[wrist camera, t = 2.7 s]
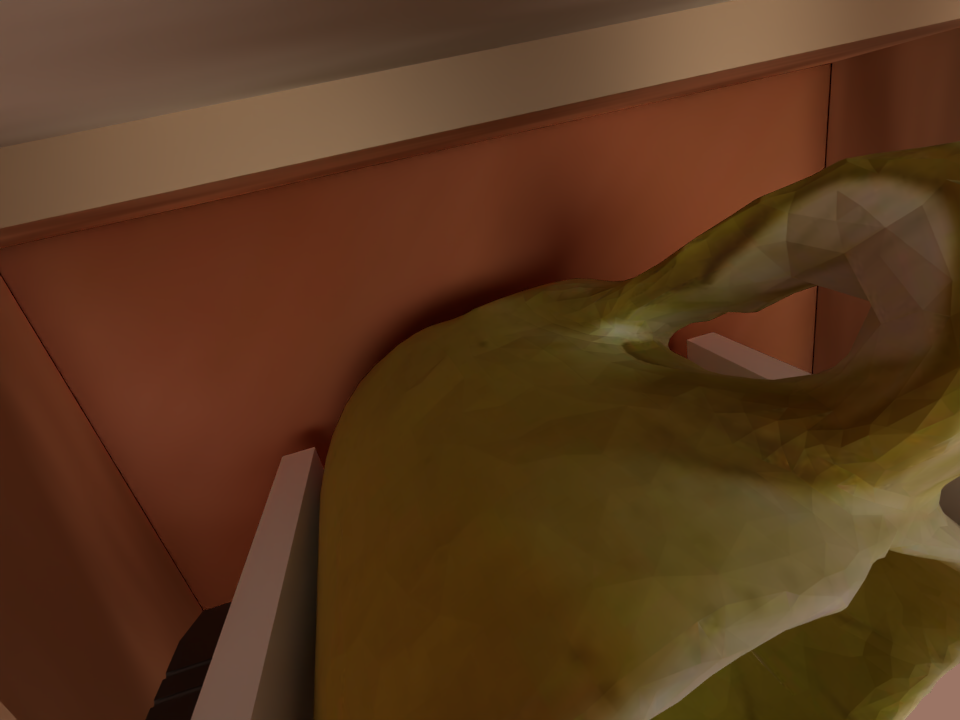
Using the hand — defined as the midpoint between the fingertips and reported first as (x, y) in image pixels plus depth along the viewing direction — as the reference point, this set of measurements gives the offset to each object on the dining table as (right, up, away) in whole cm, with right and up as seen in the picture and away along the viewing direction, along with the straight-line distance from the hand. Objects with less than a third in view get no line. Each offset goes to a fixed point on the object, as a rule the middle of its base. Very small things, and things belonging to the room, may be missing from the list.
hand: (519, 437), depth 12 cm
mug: (0, +1, +2) cm, 2 cm away
